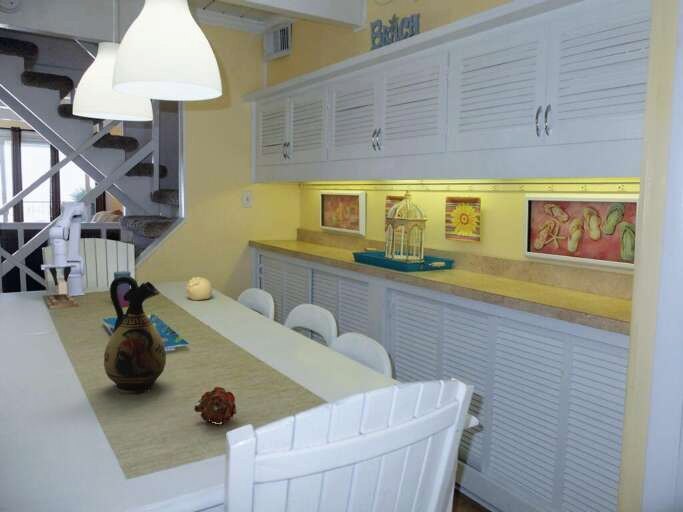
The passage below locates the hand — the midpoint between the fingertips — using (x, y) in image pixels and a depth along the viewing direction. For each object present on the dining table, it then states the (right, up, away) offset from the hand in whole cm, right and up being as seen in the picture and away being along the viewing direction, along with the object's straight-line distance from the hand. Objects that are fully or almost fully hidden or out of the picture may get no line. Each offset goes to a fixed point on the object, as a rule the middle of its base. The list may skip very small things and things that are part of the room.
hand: (60, 284), depth 240 cm
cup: (+28, -10, -1) cm, 29 cm away
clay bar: (0, -3, 0) cm, 3 cm away
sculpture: (+56, -8, +17) cm, 60 cm away
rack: (0, -8, +1) cm, 8 cm away
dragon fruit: (+95, -26, -114) cm, 150 cm away
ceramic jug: (+68, -23, -95) cm, 119 cm away
